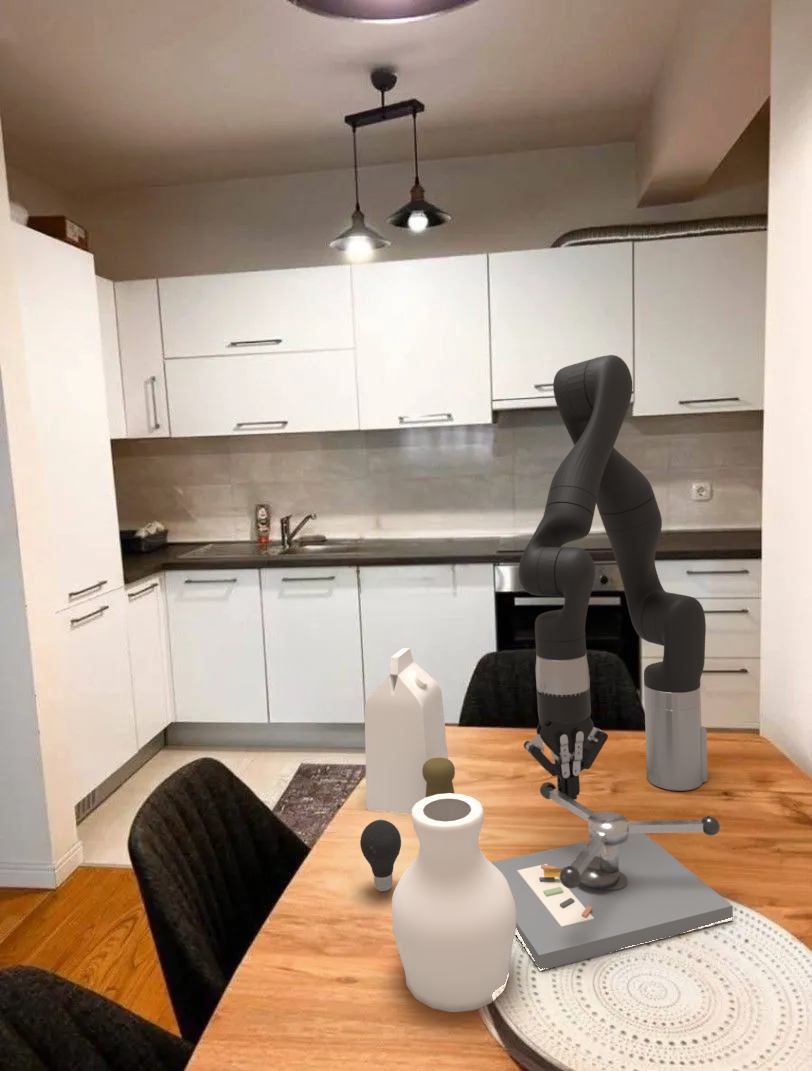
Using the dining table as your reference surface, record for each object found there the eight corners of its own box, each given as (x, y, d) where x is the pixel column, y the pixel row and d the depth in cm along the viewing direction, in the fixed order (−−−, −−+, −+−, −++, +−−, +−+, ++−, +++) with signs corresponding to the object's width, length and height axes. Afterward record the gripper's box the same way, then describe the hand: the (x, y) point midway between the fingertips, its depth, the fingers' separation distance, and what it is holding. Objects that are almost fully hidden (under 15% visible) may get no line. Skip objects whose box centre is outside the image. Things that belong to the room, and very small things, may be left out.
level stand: (640, 842, 111) (640, 826, 111) (732, 920, 92) (732, 901, 92) (477, 878, 104) (476, 862, 104) (539, 971, 85) (538, 951, 85)
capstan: (691, 825, 110) (690, 775, 109) (757, 934, 85) (757, 870, 84) (535, 829, 111) (532, 779, 111) (555, 936, 87) (552, 873, 86)
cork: (458, 836, 116) (454, 769, 115) (420, 835, 118) (415, 768, 116) (463, 817, 122) (459, 753, 121) (426, 816, 123) (422, 752, 122)
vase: (431, 922, 96) (422, 772, 93) (537, 953, 88) (530, 792, 86) (371, 994, 83) (358, 824, 81) (488, 1038, 76) (478, 852, 74)
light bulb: (363, 881, 106) (358, 814, 105) (402, 877, 106) (398, 810, 105) (364, 905, 100) (359, 834, 99) (406, 900, 100) (401, 830, 99)
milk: (391, 779, 138) (382, 642, 136) (450, 785, 134) (442, 644, 132) (366, 809, 127) (355, 661, 124) (430, 816, 123) (421, 663, 121)
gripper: (590, 670, 113) (596, 779, 115) (509, 683, 109) (517, 796, 111) (617, 684, 106) (622, 800, 108) (532, 699, 102) (539, 819, 104)
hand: (568, 798), depth 109 cm, fingers closed
